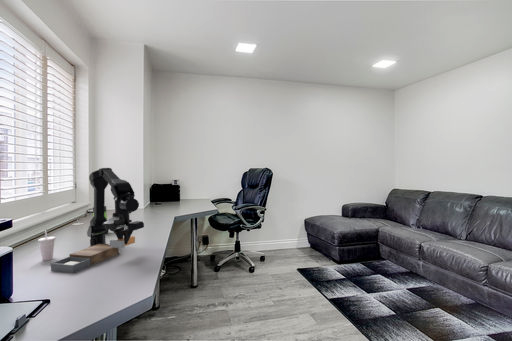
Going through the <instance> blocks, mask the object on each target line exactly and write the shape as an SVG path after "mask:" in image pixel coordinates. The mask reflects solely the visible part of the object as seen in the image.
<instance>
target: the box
mask: <svg viewBox="0 0 512 341" xmlns="http://www.w3.org/2000/svg"><path fill="white" fill-rule="evenodd" d="M70 261H74V262H80V263H77V264H75V265H68V264H65V263H67V262H70ZM90 266H92V265H91V260H90V258H79V257H70V256H66V257H64V258H61V259H59V260H55V261H52V262H51V263H50V270H51V271H53V272H61V273H62V272H63V273H69V274H75V273H77V272H79V271H82V270H83V269H86V268H89V267H90Z"/></svg>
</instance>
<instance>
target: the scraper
mask: <svg viewBox="0 0 512 341" xmlns="http://www.w3.org/2000/svg"><path fill="white" fill-rule="evenodd" d="M135 243H136V236H134V235H131V236H130V239H129V241H128V243H127V244H125V242H124V237H123V238H122V239H118V238H117V239H111V240H109V245H110V247H114V248H119V249H125V247H126V246H129V245H132V244H135Z"/></svg>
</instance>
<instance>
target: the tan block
mask: <svg viewBox="0 0 512 341" xmlns="http://www.w3.org/2000/svg"><path fill="white" fill-rule="evenodd" d="M119 249H120V248H114V247H110V244H109V243H106V244H97V245H94V246H91V247H90V246H88V247H86V248H83V249H80V250H78V251H75V252H72V253H69V254H68V255H69V256H68V257H79V258H90V260H91V266H93V265H96V264H98V263H99V262H102V261H105V260H107V259H109V258H111V257H114V256H116V255H118V254H119V252H120V251H119Z"/></svg>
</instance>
